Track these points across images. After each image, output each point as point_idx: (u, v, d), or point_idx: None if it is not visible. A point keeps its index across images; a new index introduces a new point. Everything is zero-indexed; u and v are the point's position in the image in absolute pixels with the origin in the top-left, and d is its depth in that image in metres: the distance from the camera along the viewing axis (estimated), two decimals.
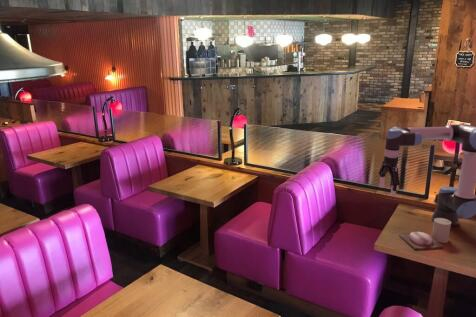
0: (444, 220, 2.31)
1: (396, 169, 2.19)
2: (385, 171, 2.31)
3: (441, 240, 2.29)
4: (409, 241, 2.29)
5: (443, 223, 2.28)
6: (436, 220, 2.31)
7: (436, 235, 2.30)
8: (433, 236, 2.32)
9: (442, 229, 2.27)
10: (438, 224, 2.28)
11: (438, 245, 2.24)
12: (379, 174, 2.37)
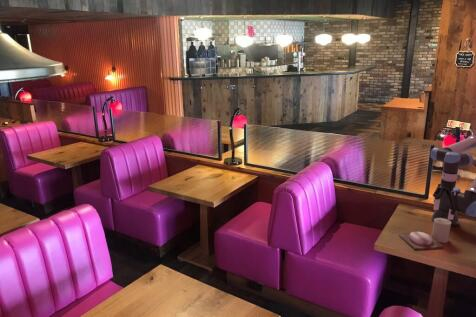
0: (444, 220, 2.31)
1: (455, 193, 2.18)
2: (441, 194, 2.29)
3: (441, 240, 2.29)
4: (409, 241, 2.29)
5: (443, 223, 2.28)
6: (436, 220, 2.31)
7: (436, 235, 2.30)
8: (433, 236, 2.32)
9: (442, 229, 2.27)
10: (438, 224, 2.28)
11: (438, 245, 2.24)
12: (433, 196, 2.36)
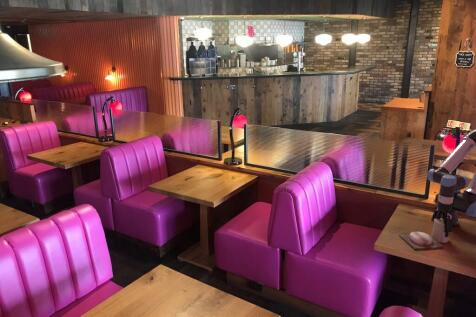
0: None
1: (451, 217, 2.22)
2: (438, 217, 2.32)
3: (441, 240, 2.29)
4: (409, 241, 2.29)
5: (443, 223, 2.28)
6: (436, 220, 2.31)
7: (436, 235, 2.30)
8: (433, 236, 2.32)
9: (442, 229, 2.27)
10: (438, 224, 2.28)
11: (438, 245, 2.24)
12: None
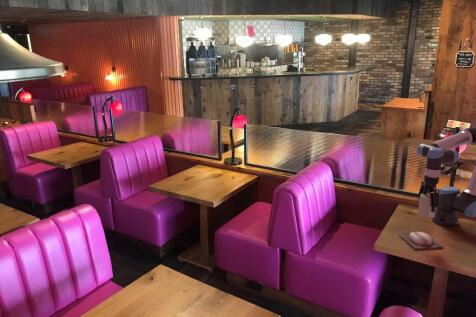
0: None
1: (437, 191, 2.14)
2: (425, 192, 2.24)
3: (427, 216, 2.21)
4: (409, 241, 2.29)
5: None
6: (422, 195, 2.23)
7: (422, 210, 2.22)
8: (419, 212, 2.24)
9: (428, 204, 2.19)
10: (424, 199, 2.20)
11: (438, 245, 2.24)
12: (418, 196, 2.30)
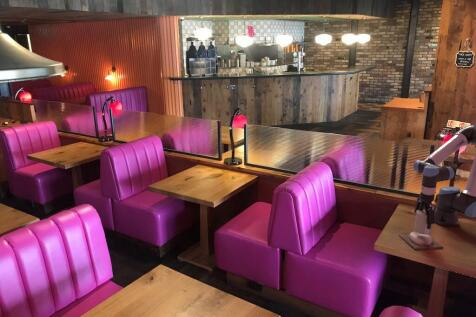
0: None
1: (433, 208, 2.17)
2: (421, 208, 2.27)
3: (423, 232, 2.24)
4: (409, 241, 2.29)
5: (425, 214, 2.22)
6: (418, 211, 2.26)
7: (418, 226, 2.25)
8: (415, 228, 2.27)
9: (424, 221, 2.22)
10: (420, 215, 2.23)
11: (438, 245, 2.24)
12: (415, 212, 2.32)
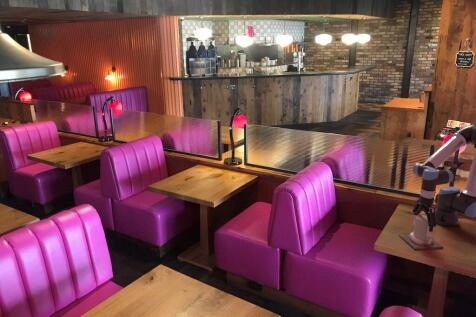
0: (426, 217, 2.27)
1: (433, 210, 2.17)
2: (420, 210, 2.28)
3: (422, 238, 2.25)
4: (409, 241, 2.29)
5: (425, 220, 2.23)
6: (418, 217, 2.27)
7: (418, 232, 2.26)
8: (415, 233, 2.28)
9: (424, 227, 2.23)
10: (420, 221, 2.24)
11: (438, 245, 2.24)
12: None
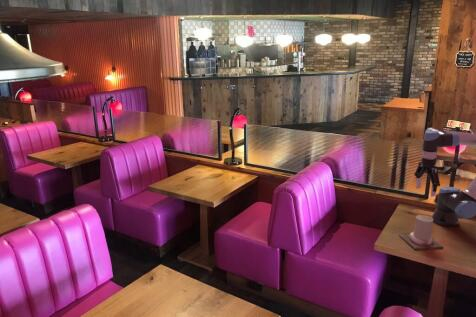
0: (426, 217, 2.27)
1: (436, 170, 2.23)
2: (422, 172, 2.34)
3: (422, 238, 2.25)
4: (409, 241, 2.29)
5: (425, 220, 2.23)
6: (418, 217, 2.27)
7: (418, 232, 2.26)
8: (415, 233, 2.28)
9: (424, 227, 2.23)
10: (420, 221, 2.24)
11: (438, 245, 2.24)
12: (415, 175, 2.40)
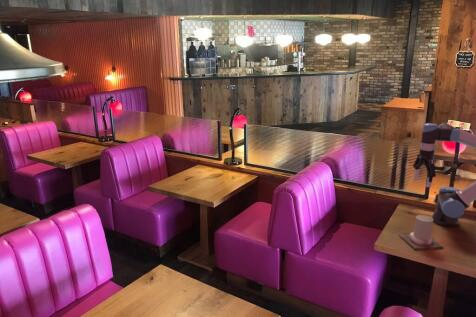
0: (426, 217, 2.27)
1: (432, 161, 2.31)
2: (420, 164, 2.42)
3: (422, 238, 2.25)
4: (409, 241, 2.29)
5: (425, 220, 2.23)
6: (418, 217, 2.27)
7: (418, 232, 2.26)
8: (415, 233, 2.28)
9: (424, 227, 2.23)
10: (420, 221, 2.24)
11: (438, 245, 2.24)
12: None
